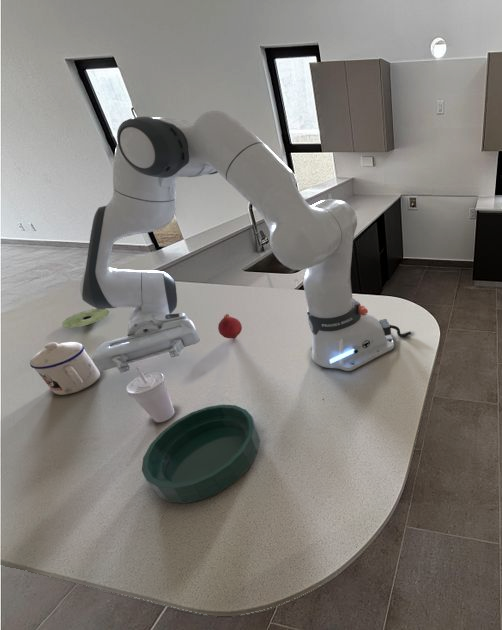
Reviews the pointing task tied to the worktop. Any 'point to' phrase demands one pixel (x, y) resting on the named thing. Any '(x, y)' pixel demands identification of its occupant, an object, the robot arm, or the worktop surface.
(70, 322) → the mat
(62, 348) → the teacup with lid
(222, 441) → the green round tray
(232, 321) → the onion
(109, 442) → the worktop surface
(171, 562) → the worktop surface
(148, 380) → the smoothie
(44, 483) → the worktop surface
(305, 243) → the robot arm
